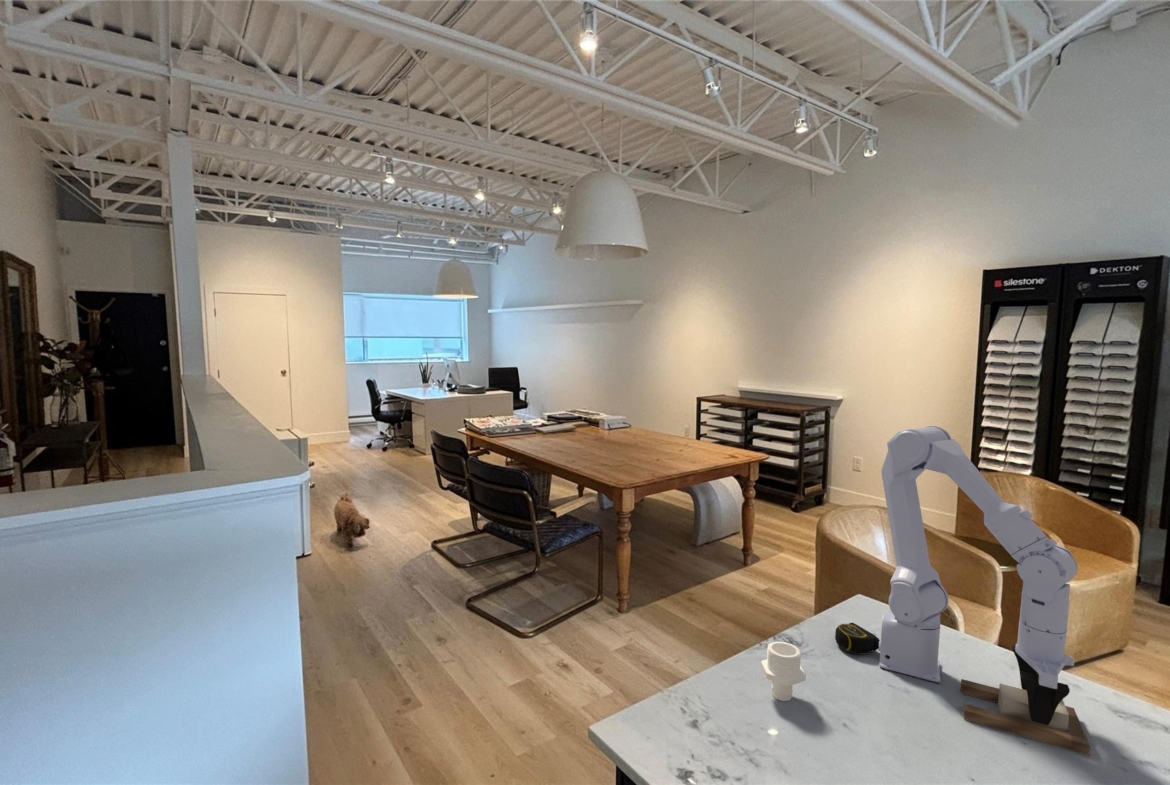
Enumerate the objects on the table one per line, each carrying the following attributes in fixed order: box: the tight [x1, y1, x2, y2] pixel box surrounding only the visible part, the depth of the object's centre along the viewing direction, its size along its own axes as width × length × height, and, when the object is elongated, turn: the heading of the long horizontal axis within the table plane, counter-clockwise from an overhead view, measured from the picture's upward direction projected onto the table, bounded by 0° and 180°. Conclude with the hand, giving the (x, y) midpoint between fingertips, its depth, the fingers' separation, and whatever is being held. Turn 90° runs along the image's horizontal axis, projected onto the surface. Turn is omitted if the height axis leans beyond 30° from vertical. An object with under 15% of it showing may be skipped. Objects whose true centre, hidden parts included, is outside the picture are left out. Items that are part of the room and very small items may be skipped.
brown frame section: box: [960, 678, 1091, 756], centre depth 90 cm, size 15×10×2 cm, turn 60°
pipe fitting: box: [760, 641, 807, 702], centre depth 95 cm, size 6×7×8 cm
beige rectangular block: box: [997, 683, 1069, 732], centre depth 89 cm, size 8×4×4 cm, turn 60°
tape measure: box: [834, 622, 881, 655], centre depth 110 cm, size 7×7×4 cm
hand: (1035, 708), depth 89 cm, fingers open, 7 cm apart
